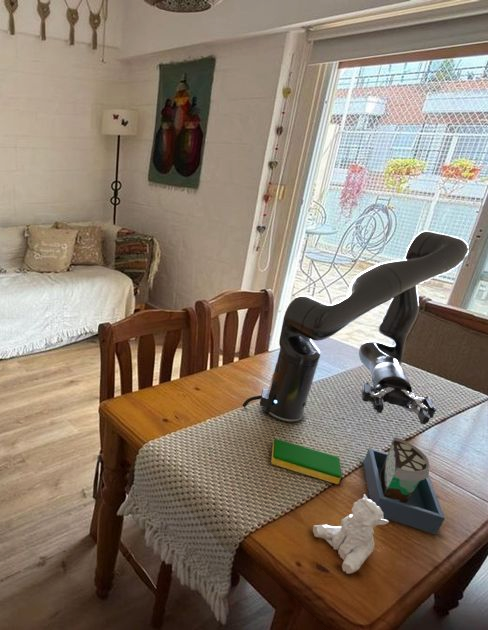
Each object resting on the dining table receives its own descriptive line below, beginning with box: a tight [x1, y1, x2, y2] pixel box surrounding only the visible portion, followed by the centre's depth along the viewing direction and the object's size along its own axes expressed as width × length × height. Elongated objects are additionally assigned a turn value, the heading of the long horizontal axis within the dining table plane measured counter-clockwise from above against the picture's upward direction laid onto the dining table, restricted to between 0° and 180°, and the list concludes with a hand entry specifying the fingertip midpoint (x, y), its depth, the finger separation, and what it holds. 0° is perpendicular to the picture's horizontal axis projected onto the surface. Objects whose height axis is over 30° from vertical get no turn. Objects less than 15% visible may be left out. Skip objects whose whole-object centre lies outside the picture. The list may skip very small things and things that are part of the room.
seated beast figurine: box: [312, 493, 390, 575], centre depth 80 cm, size 10×9×12 cm
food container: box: [380, 436, 430, 503], centre depth 92 cm, size 12×6×10 cm, turn 148°
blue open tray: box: [362, 447, 446, 536], centre depth 93 cm, size 11×17×4 cm, turn 154°
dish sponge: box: [270, 438, 342, 485], centre depth 102 cm, size 7×14×2 cm, turn 64°
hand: (402, 415), depth 101 cm, fingers open, 8 cm apart
